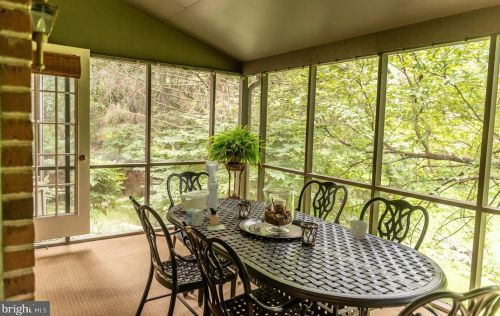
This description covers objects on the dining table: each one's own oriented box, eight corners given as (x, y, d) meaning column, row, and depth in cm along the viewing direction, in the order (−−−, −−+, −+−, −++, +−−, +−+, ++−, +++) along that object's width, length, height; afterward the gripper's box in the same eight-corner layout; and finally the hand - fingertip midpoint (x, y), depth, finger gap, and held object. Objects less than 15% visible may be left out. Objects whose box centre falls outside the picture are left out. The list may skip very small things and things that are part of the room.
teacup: (347, 241, 220) (347, 225, 219) (349, 234, 234) (349, 219, 233) (367, 243, 216) (368, 227, 215) (368, 236, 230) (368, 221, 229)
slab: (209, 223, 254) (209, 215, 252) (217, 222, 256) (218, 214, 254) (210, 225, 252) (210, 217, 249) (218, 225, 254) (219, 216, 251)
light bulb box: (186, 224, 255) (185, 210, 254) (190, 222, 261) (190, 208, 260) (198, 226, 251) (198, 211, 250) (203, 223, 257) (203, 209, 256)
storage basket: (198, 205, 313) (198, 189, 312) (212, 207, 305) (212, 191, 303) (180, 211, 293) (179, 194, 291) (195, 214, 284) (194, 196, 283)
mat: (206, 226, 250) (206, 226, 250) (222, 225, 254) (222, 224, 254) (209, 230, 241) (209, 230, 240) (226, 229, 244) (226, 228, 244)
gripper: (206, 197, 259) (206, 215, 260) (210, 202, 245) (210, 221, 246) (215, 197, 261) (215, 215, 262) (219, 201, 247) (220, 220, 249)
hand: (213, 217), depth 254 cm, fingers closed
